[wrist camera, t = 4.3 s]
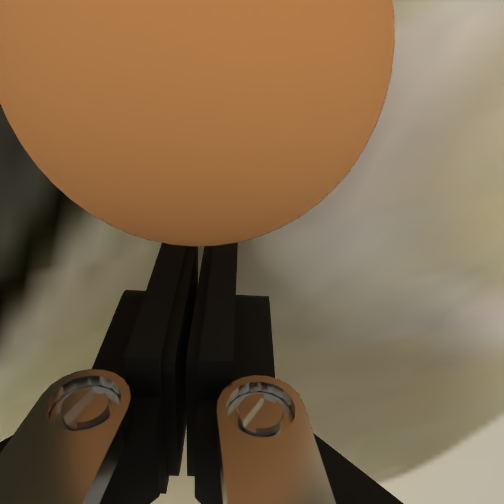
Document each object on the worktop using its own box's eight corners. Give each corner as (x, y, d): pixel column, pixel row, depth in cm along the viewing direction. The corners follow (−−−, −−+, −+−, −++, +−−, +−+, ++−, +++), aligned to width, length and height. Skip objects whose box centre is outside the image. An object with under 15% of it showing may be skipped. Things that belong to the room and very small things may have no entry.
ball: (46, -142, 8) (-288, -365, 3) (371, -130, 8) (562, -323, 3) (93, 170, 11) (-41, 321, 6) (333, 176, 11) (402, 330, 6)
